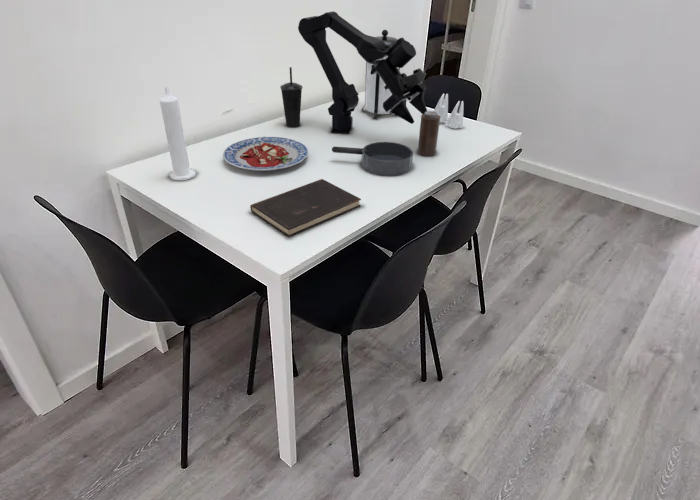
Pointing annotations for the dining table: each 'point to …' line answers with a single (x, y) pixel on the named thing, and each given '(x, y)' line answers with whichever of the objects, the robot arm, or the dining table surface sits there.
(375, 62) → the coffee press
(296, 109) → the drinking cup
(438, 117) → the pepper mill
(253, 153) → the ceramic plate
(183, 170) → the candle
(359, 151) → the pan handle
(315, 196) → the hardcover book
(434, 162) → the dining table surface
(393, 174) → the pan
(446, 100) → the shaker set
